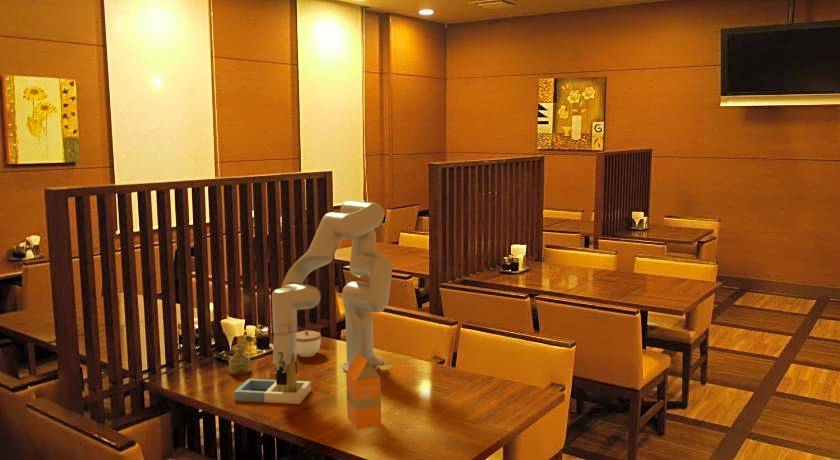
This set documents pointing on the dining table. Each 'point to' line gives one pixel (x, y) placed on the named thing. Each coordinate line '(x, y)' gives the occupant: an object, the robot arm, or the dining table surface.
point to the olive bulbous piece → (239, 361)
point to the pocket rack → (270, 392)
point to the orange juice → (363, 394)
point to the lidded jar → (308, 343)
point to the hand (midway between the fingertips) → (286, 379)
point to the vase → (290, 377)
